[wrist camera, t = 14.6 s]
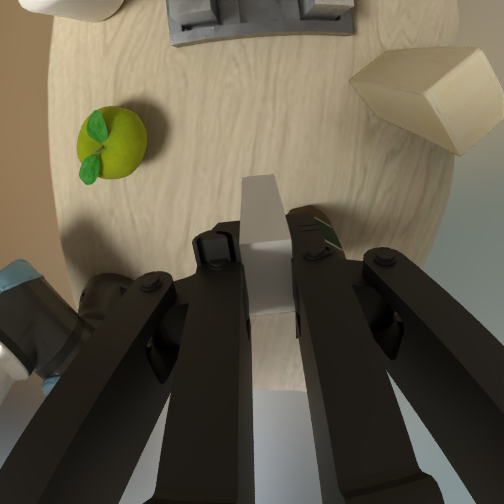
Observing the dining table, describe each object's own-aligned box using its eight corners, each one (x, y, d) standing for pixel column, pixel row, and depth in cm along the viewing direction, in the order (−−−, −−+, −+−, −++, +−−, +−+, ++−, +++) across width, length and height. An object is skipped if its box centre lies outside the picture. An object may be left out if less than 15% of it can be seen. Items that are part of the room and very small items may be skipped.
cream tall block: (378, 122, 39) (464, 165, 21) (346, 81, 37) (422, 91, 19) (416, 91, 37) (516, 116, 19) (386, 50, 34) (481, 43, 16)
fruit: (92, 156, 42) (58, 178, 33) (107, 97, 37) (71, 105, 29) (146, 174, 44) (121, 200, 35) (165, 113, 39) (141, 124, 31)
